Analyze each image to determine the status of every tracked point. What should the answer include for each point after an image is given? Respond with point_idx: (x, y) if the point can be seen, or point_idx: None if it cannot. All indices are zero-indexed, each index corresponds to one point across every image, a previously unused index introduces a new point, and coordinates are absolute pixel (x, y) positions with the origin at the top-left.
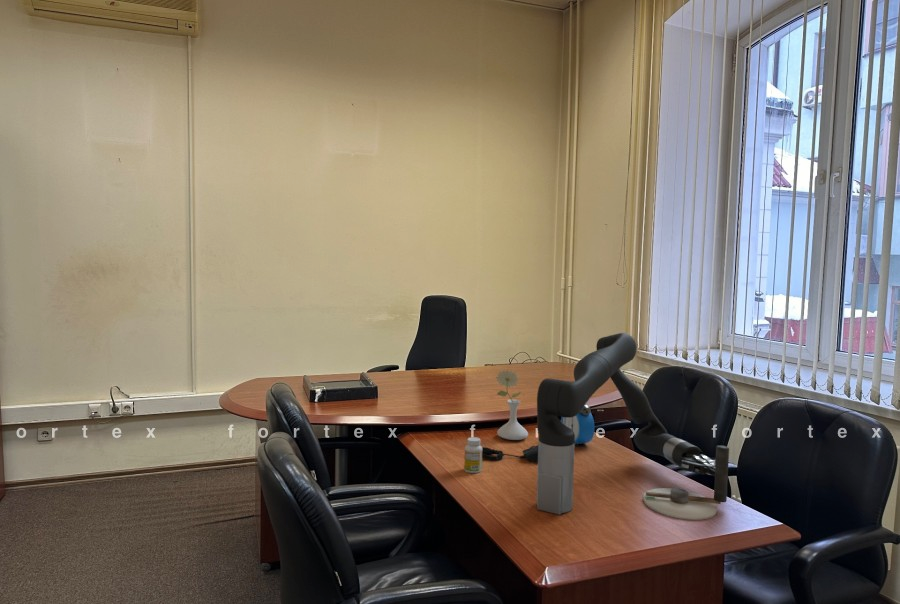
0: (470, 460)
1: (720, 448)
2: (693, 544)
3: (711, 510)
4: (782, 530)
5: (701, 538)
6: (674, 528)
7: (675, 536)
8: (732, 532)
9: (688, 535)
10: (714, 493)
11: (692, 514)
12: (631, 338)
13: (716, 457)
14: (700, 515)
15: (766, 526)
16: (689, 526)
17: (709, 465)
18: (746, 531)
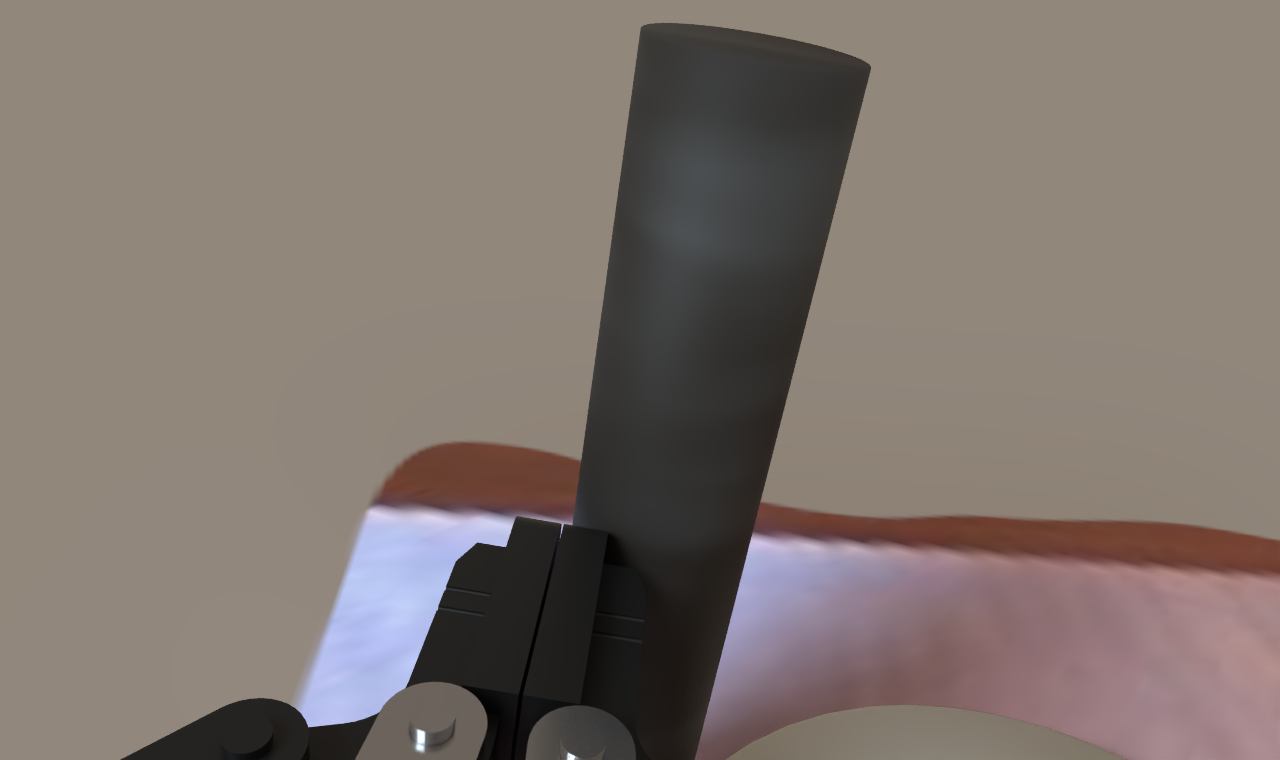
0: None
1: (844, 53)
2: (1159, 539)
3: (798, 757)
4: (440, 462)
5: (1081, 562)
6: (1258, 704)
7: (1266, 626)
8: (817, 544)
9: (1164, 608)
10: (697, 744)
11: (1053, 754)
12: None
13: (817, 270)
14: (978, 715)
15: (489, 517)
16: (1117, 689)
17: (600, 737)
18: None
